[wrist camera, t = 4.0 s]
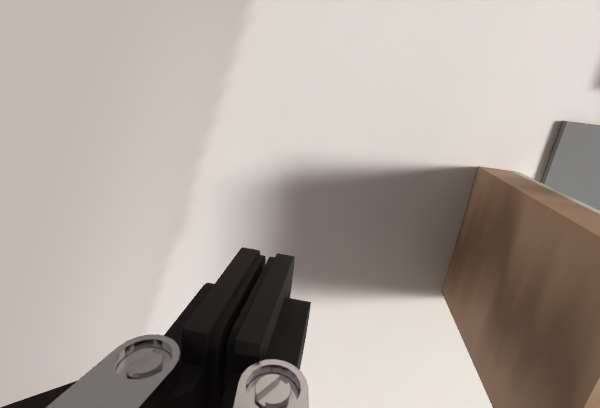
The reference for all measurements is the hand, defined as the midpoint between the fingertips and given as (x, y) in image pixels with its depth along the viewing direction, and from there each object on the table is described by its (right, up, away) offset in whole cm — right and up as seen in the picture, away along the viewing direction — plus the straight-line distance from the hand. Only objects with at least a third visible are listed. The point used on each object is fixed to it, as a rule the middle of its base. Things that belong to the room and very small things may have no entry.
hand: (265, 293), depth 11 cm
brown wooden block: (+10, +1, +6) cm, 12 cm away
